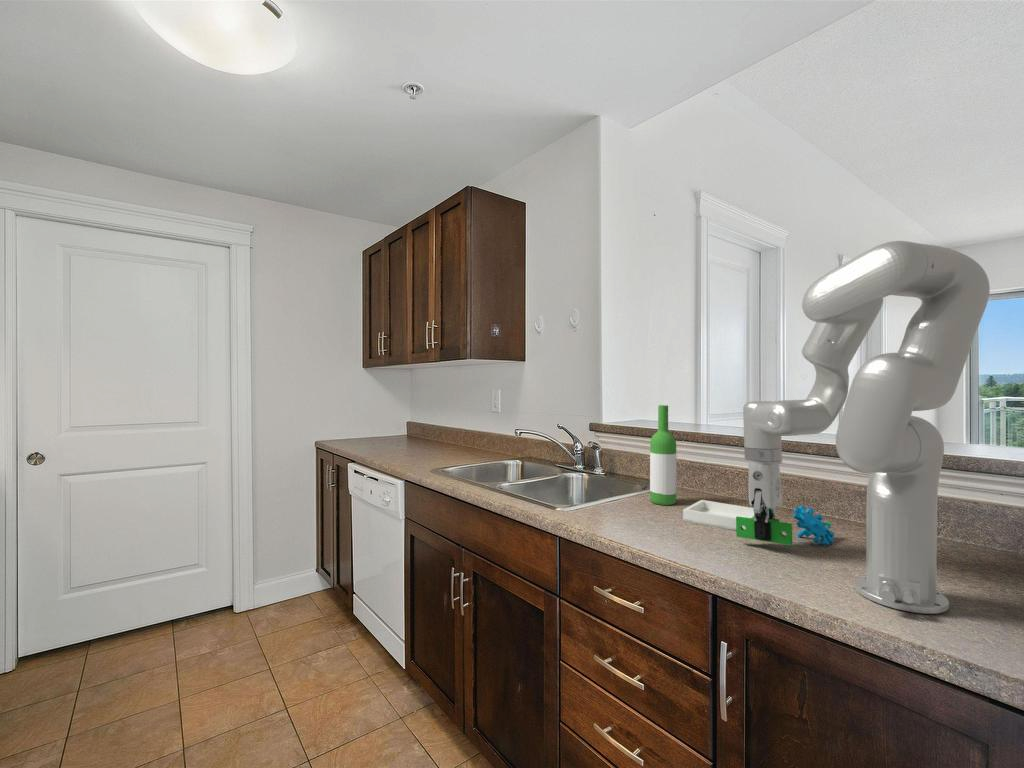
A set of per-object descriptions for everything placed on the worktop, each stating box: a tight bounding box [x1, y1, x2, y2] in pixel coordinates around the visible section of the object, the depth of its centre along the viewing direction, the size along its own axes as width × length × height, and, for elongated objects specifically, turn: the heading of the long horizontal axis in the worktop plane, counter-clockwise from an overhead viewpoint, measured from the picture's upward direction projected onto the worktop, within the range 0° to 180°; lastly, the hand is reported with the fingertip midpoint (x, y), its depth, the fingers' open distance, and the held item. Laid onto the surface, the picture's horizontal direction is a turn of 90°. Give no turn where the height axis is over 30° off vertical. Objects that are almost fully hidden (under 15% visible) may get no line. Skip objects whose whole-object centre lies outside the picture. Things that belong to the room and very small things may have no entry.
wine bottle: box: [649, 404, 677, 506], centre depth 148 cm, size 8×8×30 cm
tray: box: [682, 499, 754, 532], centre depth 129 cm, size 14×18×3 cm
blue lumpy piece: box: [792, 505, 835, 547], centre depth 114 cm, size 11×6×10 cm
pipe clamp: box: [735, 516, 793, 546], centre depth 109 cm, size 11×4×5 cm, turn 50°
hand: (765, 536), depth 109 cm, fingers closed on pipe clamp, 3 cm apart
